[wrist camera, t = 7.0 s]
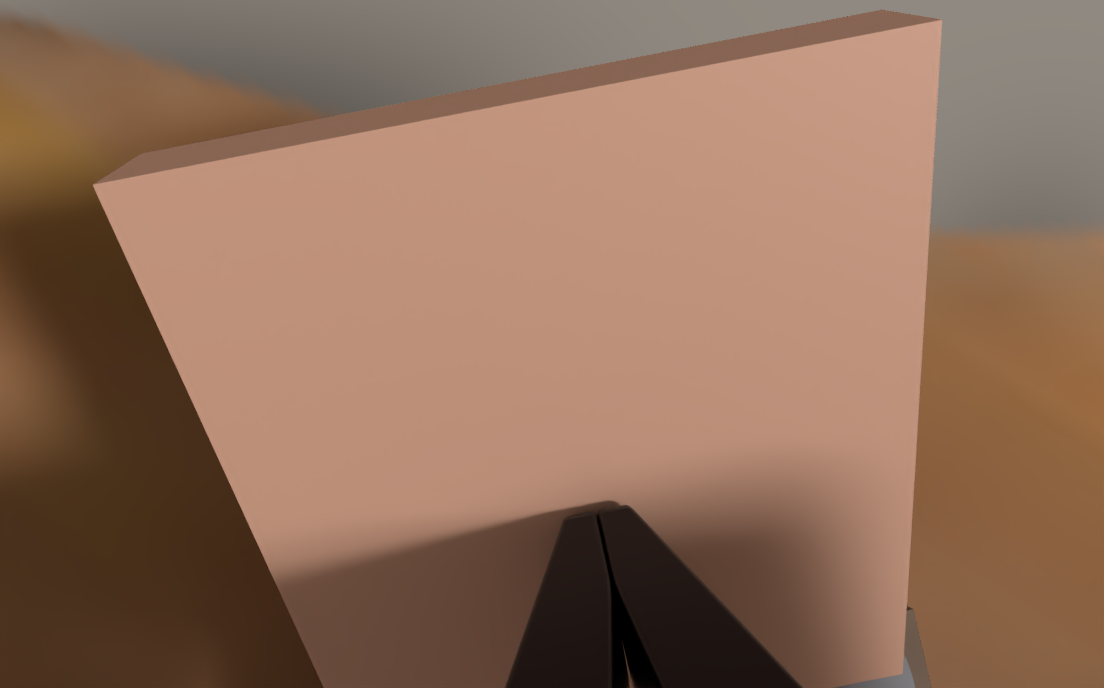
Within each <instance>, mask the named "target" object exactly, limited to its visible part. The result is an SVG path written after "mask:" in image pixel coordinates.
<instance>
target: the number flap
mask: <svg viewBox="0 0 1104 688" xmlns="http://www.w3.org/2000/svg"><path fill="white" fill-rule="evenodd" d="M941 30H942V20H940V19H935V18H929V17H923V16H916V15H910V14H904V13H898V12H892V11H886V10H879V11H873V12H868V13H863V14H858V15H852V16H847V17H842V18H837V19H832V20H827V21H822V22H816V23H811V24H806V25H801V26H796V27H791V28H785V29H780V30H775V31H770V32H766V33H760V34H755V35H749V36H745V37H739V38H734V39H729V40H724V41H719V42H714V43H708V44H703V45H698V46H693V47H688V48H683V49H677V50H672V51H667V52H662V53H657V54H652V55H647V56H641V57H636V58H631V59H627V60H621V61H616V62H610V63H605V64H600V65H595V66H590V67H585V68H580V69H574V70H569V71H565V72H559V73H554V74H549V75H544V76H539V77H534V78H528V79H523V80H518V81H513V82H507V83H502V84H498V85H492V86H487V87H482V88H477V89H471V90H466V91H462V92H456V93H451V94H446V95H441V96H436V97H430V98H425V99H420V100H415V101H410V102H405V103H399V104H395V105H389V106H384V107H379V108H374V109H369V110H364V111H358V112H353V113H348V114H343V115H338V116H332V117H327V118H322V119H317V120H312V121H307V122H302V123H296V124H291V125H286V126H281V127H276V128H271V129H266V130H260V131H255V132H250V133H245V134H240V135H235V136H229V137H224V138H219V139H214V140H209V141H204V142H199V143H193V144H188V145H183V146H178V147H173V148H168V149H163V150H157V151H152V152H147V153H142V154H140V155H138V156H137V157H135V158H134V159H132V160H131V161H129V162H128V163H126V164H124V165H123V166H121V167H120V168H118V169H117V170H115V171H113V172H112V173H110V174H109V175H107V176H106V177H104V178H102V179H101V180H99V181H98V182H96V183H95V184H93V187H94V189H95V191H96V193H97V196H98V198H99V200H100V202H101V204H102V207H103V209H104V211H105V213H106V215H107V217H108V220H109V222H110V224H111V226H112V228H113V230H114V233H115V235H116V237H117V239H118V241H119V244H120V246H121V248H122V250H123V252H124V254H125V257H126V259H127V261H128V263H129V265H130V267H131V270H132V272H133V274H134V276H135V278H136V281H137V283H138V285H139V287H140V289H141V291H142V294H143V296H144V298H145V300H146V302H147V304H148V307H149V309H150V311H151V313H152V315H153V318H154V320H155V322H156V324H157V326H158V328H159V331H160V333H161V335H162V337H163V339H164V341H165V344H166V346H167V348H168V350H169V352H170V355H171V357H172V359H173V361H174V363H175V365H176V368H177V370H178V372H179V374H180V376H181V378H182V381H183V383H184V385H185V387H186V389H187V392H188V394H189V396H190V398H191V400H192V402H193V405H194V407H195V409H196V411H197V413H198V416H199V418H200V420H201V422H202V424H203V426H204V429H205V431H206V433H207V435H208V437H209V439H210V442H211V444H212V446H213V448H214V450H215V453H216V455H217V457H218V459H219V461H220V463H221V466H222V468H223V470H224V472H225V474H226V476H227V479H228V481H229V483H230V485H231V487H232V490H233V492H234V494H235V496H236V498H237V500H238V503H239V505H240V507H241V509H242V511H243V513H244V516H245V518H246V520H247V522H248V524H249V527H250V529H251V531H252V533H253V535H254V537H255V540H256V542H257V544H258V546H259V548H260V550H261V553H262V555H263V557H264V559H265V561H266V564H267V566H268V568H269V570H270V572H271V574H272V577H273V579H274V581H275V583H276V585H277V587H278V590H279V592H280V594H281V596H282V598H283V601H284V603H285V605H286V607H287V609H288V611H289V614H290V616H291V618H292V620H293V622H294V624H295V627H296V629H297V631H298V633H299V635H300V638H301V640H302V642H303V644H304V646H305V648H306V651H307V653H308V655H309V657H310V659H311V661H312V664H313V666H314V668H315V670H316V672H317V675H318V677H319V679H320V681H321V683H322V685H323V688H505V685H506V683H507V680H508V677H509V674H510V671H511V668H512V665H513V662H514V660H515V657H516V654H517V651H518V648H519V645H520V642H521V639H522V637H523V634H524V631H525V628H526V625H527V622H528V619H529V616H530V614H531V611H532V608H533V605H534V602H535V599H536V596H537V593H538V591H539V588H540V585H541V582H542V579H543V576H544V573H545V570H546V568H547V565H548V562H549V559H550V556H551V553H552V550H553V547H554V545H555V542H556V539H557V536H558V533H559V530H560V527H561V524H562V522H563V520H564V518H566V517H567V516H571V515H576V514H581V513H586V512H594V513H596V514H597V517H598V513H599V511H600V510H602V509H606V508H611V507H617V506H622V505H628V506H630V507H632V508H633V509H634V510H635V511H636V512H637V513H638V514H639V515H640V516H641V517H642V519H643V520H644V521H645V522H646V523H647V524H648V525H649V526H650V527H651V528H652V529H653V530H654V531H655V532H656V533H657V534H658V535H659V536H660V537H661V539H662V540H663V541H664V542H665V543H666V544H667V545H668V546H669V547H670V548H671V549H672V550H673V551H674V552H675V553H676V554H677V555H678V556H679V557H680V558H681V560H682V561H683V562H684V563H685V564H686V565H687V566H688V567H689V568H690V569H691V570H692V571H693V572H694V573H695V574H696V575H697V576H698V577H699V578H700V579H701V581H702V582H703V583H704V584H705V585H706V586H707V587H708V588H709V589H710V590H711V591H712V592H713V593H714V594H715V595H716V596H717V597H718V598H719V599H720V600H721V602H722V603H723V604H724V605H725V606H726V607H727V608H728V609H729V610H730V611H731V612H732V613H733V614H734V615H735V616H736V617H737V618H738V619H739V620H740V621H741V623H742V624H743V625H744V626H745V627H746V628H747V629H748V630H749V631H750V632H751V633H752V634H753V635H754V636H755V637H756V638H757V639H758V640H759V641H760V642H761V644H762V645H763V646H764V647H765V648H766V649H767V650H768V651H769V652H770V653H771V654H772V655H773V656H774V657H775V658H776V659H777V660H778V661H779V662H780V663H781V665H782V666H783V667H784V668H785V669H786V670H787V671H788V672H789V673H790V674H791V675H792V676H793V677H794V678H795V679H796V680H797V681H798V682H799V683H800V684H801V686H802V687H803V688H915V685H914V681H913V677H912V674H911V670H910V667H909V665H908V662H907V660H906V657H905V655H904V644H905V628H906V611H907V595H908V578H909V561H910V545H911V528H912V512H913V495H914V478H915V462H916V445H917V429H918V412H919V395H920V379H921V362H922V346H923V329H924V312H925V296H926V279H927V263H928V246H929V229H930V212H931V196H932V180H933V179H932V178H933V163H934V146H935V129H936V112H937V97H938V80H939V62H940V47H941ZM598 521H599V520H598ZM624 653H625V651H624ZM625 659H626V656H625ZM626 664H627V661H626ZM627 670H628V676H629V686H630V688H634V686H633V683H632V680H631V677H630V673H629V669H628V665H627Z"/></svg>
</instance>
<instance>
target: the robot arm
mask: <svg viewBox="0 0 1104 688" xmlns="http://www.w3.org/2000/svg"><path fill="white" fill-rule="evenodd" d="M598 520H599V521H598ZM624 651H625V653H624ZM625 656H626V659H625ZM626 661H627V664H626ZM627 665H628V669H629V673H630V677H631V680H632V683H633V686H634V688H803V687H802V686H801V684H800V683H799V682H798V681H797V680H796V679H795V678H794V677H793V676H792V675H791V674H790V673H789V672H788V671H787V670H786V669H785V668H784V667H783V666H782V665H781V663H780V662H779V661H778V660H777V659H776V658H775V657H774V656H773V655H772V654H771V653H770V652H769V651H768V650H767V649H766V648H765V647H764V646H763V645H762V644H761V642H760V641H759V640H758V639H757V638H756V637H755V636H754V635H753V634H752V633H751V632H750V631H749V630H748V629H747V628H746V627H745V626H744V625H743V624H742V623H741V621H740V620H739V619H738V618H737V617H736V616H735V615H734V614H733V613H732V612H731V611H730V610H729V609H728V608H727V607H726V606H725V605H724V604H723V603H722V602H721V600H720V599H719V598H718V597H717V596H716V595H715V594H714V593H713V592H712V591H711V590H710V589H709V588H708V587H707V586H706V585H705V584H704V583H703V582H702V581H701V579H700V578H699V577H698V576H697V575H696V574H695V573H694V572H693V571H692V570H691V569H690V568H689V567H688V566H687V565H686V564H685V563H684V562H683V561H682V560H681V558H680V557H679V556H678V555H677V554H676V553H675V552H674V551H673V550H672V549H671V548H670V547H669V546H668V545H667V544H666V543H665V542H664V541H663V540H662V539H661V537H660V536H659V535H658V534H657V533H656V532H655V531H654V530H653V529H652V528H651V527H650V526H649V525H648V524H647V523H646V522H645V521H644V520H643V519H642V517H641V516H640V515H639V514H638V513H637V512H636V511H635V510H634V509H633V508H632V507H630V506H628V505H622V506H617V507H611V508H606V509H602V510H600V511H599V513H598V517H597V514H596V513H594V512H586V513H581V514H576V515H571V516H567V517H566V518H564V520H563V522H562V524H561V527H560V530H559V533H558V536H557V539H556V542H555V545H554V547H553V550H552V553H551V556H550V559H549V562H548V565H547V568H546V570H545V573H544V576H543V579H542V582H541V585H540V588H539V591H538V593H537V596H536V599H535V602H534V605H533V608H532V611H531V614H530V616H529V619H528V622H527V625H526V628H525V631H524V634H523V637H522V639H521V642H520V645H519V648H518V651H517V654H516V657H515V660H514V662H513V665H512V668H511V671H510V674H509V677H508V680H507V683H506V685H505V688H630V686H629V676H628V670H627Z"/></svg>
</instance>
